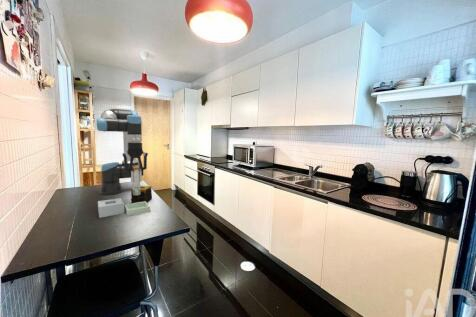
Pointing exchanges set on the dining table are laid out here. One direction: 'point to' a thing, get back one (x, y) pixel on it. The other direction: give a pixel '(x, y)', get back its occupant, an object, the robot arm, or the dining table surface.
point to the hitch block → (110, 207)
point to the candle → (142, 195)
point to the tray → (136, 208)
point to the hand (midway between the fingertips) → (136, 181)
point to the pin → (136, 179)
